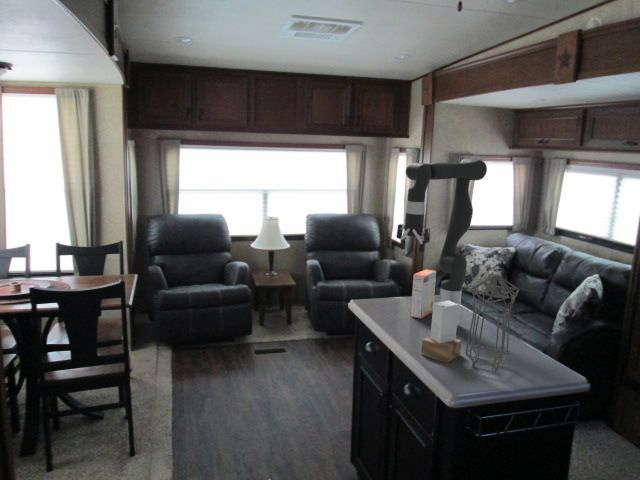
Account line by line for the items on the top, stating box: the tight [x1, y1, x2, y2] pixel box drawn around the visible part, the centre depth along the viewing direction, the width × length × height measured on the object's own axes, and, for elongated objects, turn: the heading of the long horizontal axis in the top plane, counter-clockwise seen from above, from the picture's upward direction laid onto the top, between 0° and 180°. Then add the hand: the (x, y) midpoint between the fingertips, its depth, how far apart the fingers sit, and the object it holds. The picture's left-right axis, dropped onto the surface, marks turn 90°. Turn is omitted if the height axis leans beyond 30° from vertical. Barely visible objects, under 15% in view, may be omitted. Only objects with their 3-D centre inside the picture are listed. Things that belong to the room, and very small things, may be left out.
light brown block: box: [420, 335, 462, 364], centre depth 203 cm, size 11×11×6 cm
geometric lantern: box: [464, 273, 520, 372], centre depth 192 cm, size 16×16×35 cm
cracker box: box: [410, 268, 437, 320], centre depth 250 cm, size 14×6×21 cm, turn 144°
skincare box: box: [429, 300, 459, 344], centre depth 201 cm, size 8×6×15 cm
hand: (411, 250), depth 219 cm, fingers open, 8 cm apart
